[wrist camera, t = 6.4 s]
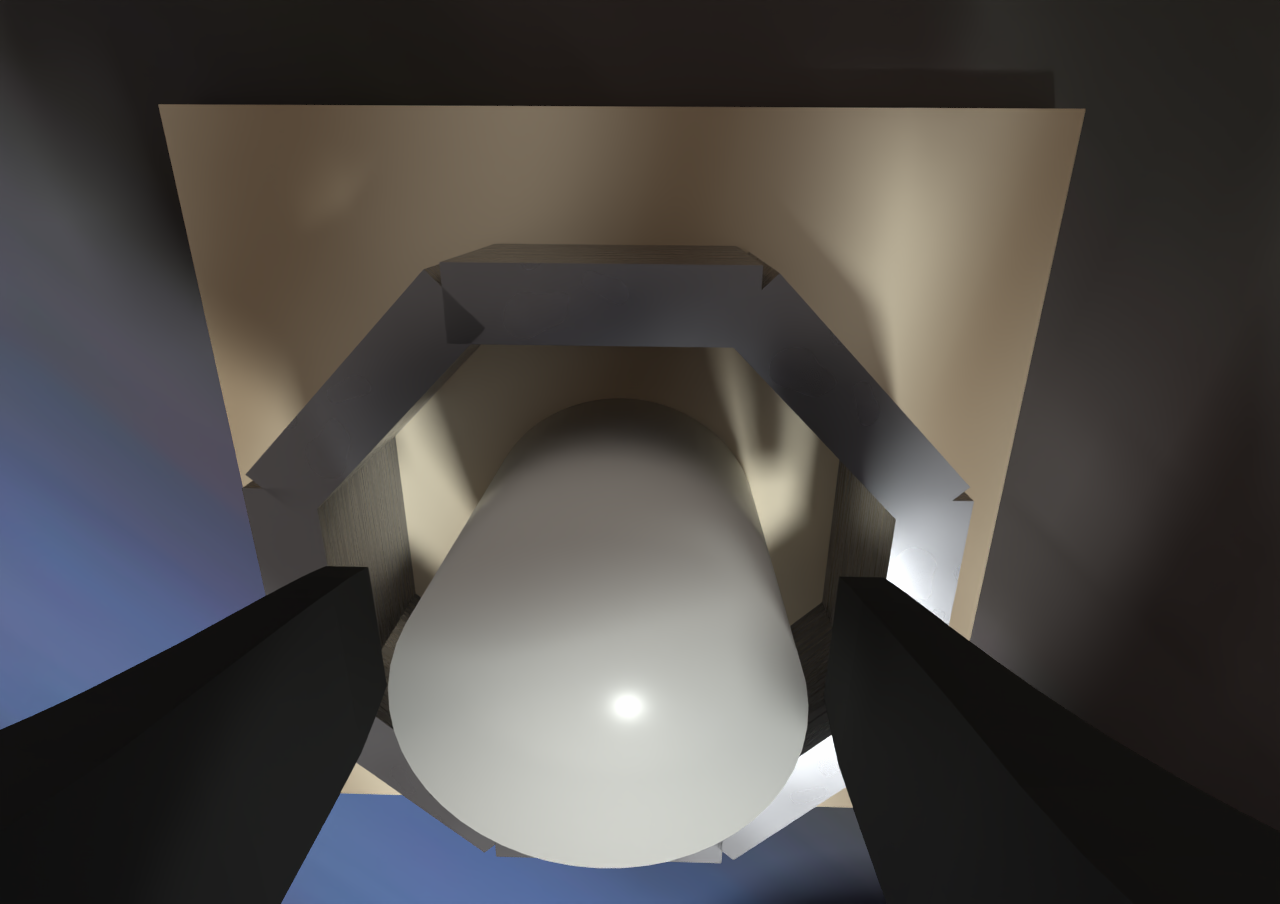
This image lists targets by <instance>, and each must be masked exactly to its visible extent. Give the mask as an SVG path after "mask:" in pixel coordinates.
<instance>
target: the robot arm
mask: <svg viewBox="0 0 1280 904" xmlns="http://www.w3.org/2000/svg"><path fill="white" fill-rule="evenodd" d="M386 687H387V682H386V676H385V669H384V663H383V657H382V650H381V644H380V638H379V631H378V625H377V619H376V612H375V606H374V599H373V593H372V587H371V580H370V574H369V568H368V567H348V566H325V567H322V568H320V569H318V570H315V571H313V572H311V573H309V574H307V575H305V576H302V577H300V578H299V579H297V580H295V581H293V582H291V583H289V584H287V585H285V586H283V587H281V588H279V589H277V590H276V591H274V592H272V593H270V594H268V595H266V596H265V597H263V598H261V599H259V600H257V601H255V602H254V603H252V604H250V605H248V606H246V607H245V608H243V609H241V610H239V611H237V612H235V613H234V614H232V615H230V616H228V617H226V618H225V619H223V620H221V621H219V622H217V623H215V624H214V625H212V626H210V627H208V628H206V629H204V630H203V631H201V632H199V633H197V634H195V635H193V636H192V637H190V638H188V639H186V640H184V641H182V642H181V643H179V644H177V645H175V646H173V647H171V648H169V649H167V650H165V651H163V652H161V653H159V654H157V655H155V656H153V657H151V658H149V659H147V660H145V661H144V662H142V663H140V664H138V665H136V666H134V667H132V668H130V669H128V670H126V671H124V672H122V673H120V674H118V675H116V676H114V677H112V678H110V679H108V680H106V681H104V682H102V683H100V684H98V685H97V686H95V687H93V688H91V689H89V690H87V691H85V692H82V693H80V694H78V695H76V696H74V697H72V698H70V699H68V700H66V701H64V702H61V703H59V704H57V705H55V706H53V707H51V708H48V709H46V710H44V711H42V712H40V713H38V714H35V715H33V716H31V717H29V718H26V719H24V720H22V721H20V722H17V723H15V724H13V725H10V726H8V727H6V728H3V729H1V730H0V904H281V902H282V900H283V899H284V897H285V895H286V893H287V891H288V889H289V887H290V886H291V884H292V882H293V880H294V878H295V876H296V875H297V873H298V871H299V869H300V867H301V865H302V863H303V862H304V860H305V858H306V856H307V854H308V852H309V850H310V849H311V847H312V845H313V843H314V841H315V839H316V838H317V836H318V834H319V832H320V830H321V828H322V826H323V825H324V823H325V821H326V819H327V817H328V815H329V814H330V812H331V810H332V808H333V806H334V804H335V802H336V800H337V799H338V797H339V795H340V793H341V791H342V789H343V787H344V785H345V783H346V782H347V780H348V778H349V776H350V774H351V772H352V770H353V768H354V766H355V764H356V762H357V760H358V759H359V757H360V755H361V753H362V750H363V748H364V745H365V743H366V740H367V738H368V735H369V733H370V730H371V728H372V725H373V723H374V720H375V717H376V714H377V712H378V709H379V706H380V703H381V701H382V698H383V695H384V692H385V690H386ZM824 700H825V705H826V710H827V715H828V720H829V725H830V730H831V735H832V739H833V743H834V748H835V752H836V756H837V761H838V765H839V768H840V771H841V774H842V777H843V780H844V783H845V786H846V789H847V792H848V795H849V798H850V800H851V803H852V806H853V809H854V812H855V815H856V818H857V821H858V824H859V826H860V829H861V832H862V835H863V838H864V841H865V844H866V846H867V849H868V852H869V855H870V858H871V861H872V863H873V866H874V869H875V872H876V875H877V878H878V880H879V883H880V886H881V889H882V892H883V895H884V897H885V900H886V903H887V904H1280V832H1279V831H1277V830H1275V829H1273V828H1271V827H1269V826H1267V825H1265V824H1263V823H1261V822H1259V821H1257V820H1255V819H1253V818H1251V817H1249V816H1247V815H1246V814H1244V813H1242V812H1240V811H1238V810H1236V809H1234V808H1232V807H1230V806H1229V805H1227V804H1225V803H1223V802H1221V801H1219V800H1217V799H1216V798H1214V797H1212V796H1210V795H1208V794H1206V793H1204V792H1203V791H1201V790H1199V789H1197V788H1195V787H1194V786H1192V785H1190V784H1188V783H1186V782H1185V781H1183V780H1181V779H1180V778H1178V777H1176V776H1174V775H1173V774H1171V773H1169V772H1168V771H1166V770H1164V769H1162V768H1161V767H1159V766H1157V765H1156V764H1154V763H1152V762H1150V761H1149V760H1147V759H1145V758H1144V757H1142V756H1140V755H1138V754H1137V753H1135V752H1133V751H1132V750H1130V749H1128V748H1126V747H1125V746H1123V745H1121V744H1120V743H1118V742H1116V741H1115V740H1113V739H1112V738H1110V737H1108V736H1107V735H1105V734H1104V733H1102V732H1100V731H1099V730H1097V729H1095V728H1094V727H1092V726H1091V725H1089V724H1088V723H1086V722H1085V721H1083V720H1082V719H1080V718H1079V717H1077V716H1076V715H1074V714H1073V713H1071V712H1070V711H1068V710H1067V709H1065V708H1064V707H1062V706H1061V705H1059V704H1058V703H1056V702H1055V701H1053V700H1052V699H1050V698H1049V697H1047V696H1046V695H1044V694H1043V693H1041V692H1040V691H1038V690H1037V689H1035V688H1034V687H1032V686H1031V685H1029V684H1028V683H1027V682H1025V681H1024V680H1022V679H1021V678H1019V677H1018V676H1017V675H1015V674H1014V673H1012V672H1011V671H1010V670H1008V669H1007V668H1005V667H1004V666H1003V665H1001V664H1000V663H998V662H997V661H996V660H994V659H993V658H992V657H990V656H989V655H988V654H986V653H985V652H983V651H982V650H981V649H979V648H978V647H977V646H975V645H974V644H973V643H971V642H970V641H969V640H967V639H966V638H965V637H963V636H962V635H961V634H959V633H958V632H957V631H955V630H954V629H953V628H952V627H950V626H949V625H948V624H946V623H945V622H944V621H942V620H941V619H940V618H938V617H937V616H936V615H935V614H933V613H932V612H931V611H929V610H928V609H927V608H925V607H924V606H923V605H921V604H920V603H919V602H918V601H916V600H915V599H914V598H912V597H911V596H910V595H908V594H907V593H906V592H904V591H903V590H901V589H900V588H899V587H897V586H896V585H894V584H893V583H891V582H890V581H888V580H887V579H885V578H884V577H839V581H838V589H837V597H836V604H835V612H834V620H833V627H832V635H831V643H830V650H829V658H828V666H827V674H826V681H825V689H824Z"/></svg>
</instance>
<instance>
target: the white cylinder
mask: <svg viewBox="0 0 1280 904" xmlns="http://www.w3.org/2000/svg"><path fill="white" fill-rule="evenodd" d="M388 697H389V711H390V715H391V720H392V724H393V729H394V732H395V735H396V738H397V740H398V743H399V745H400V748H401V751H402V753H403V754H404V756H405V758H406V760H407V762H408V763H409V765H410V767H411V769H412V771H413V772H414V773H415V775H416V776H417V777H418V779H419V780H420V781H421V783H422V784H423V785H424V787H425V788H426V789H427V790H428V792H429V793H430V794H431V795H432V796H433V797H434V798H435V799H436V800H437V801H438V802H439V803H440V804H441V805H442V806H443V807H444V808H445V809H447V810H448V811H449V812H450V813H451V814H453V815H454V816H455V817H456V818H457V819H459V820H460V821H461V822H463V823H464V824H466V825H467V826H469V827H470V828H472V829H473V830H475V831H476V832H478V833H479V834H481V835H483V836H485V837H487V838H489V839H491V840H493V841H495V842H497V843H499V844H500V845H503V846H505V847H508V848H510V849H513V850H515V851H518V852H520V853H523V854H526V855H529V856H532V857H536V858H539V859H543V860H546V861H550V862H556V863H561V864H566V865H571V866H581V867H591V868H627V867H638V866H647V865H652V864H657V863H663V862H668V861H672V860H675V859H678V858H682V857H685V856H688V855H692V854H694V853H697V852H699V851H701V850H704V849H706V848H709V847H711V846H713V845H715V844H717V843H719V842H721V841H723V840H724V839H726V838H728V837H730V836H731V835H733V834H735V833H736V832H738V831H739V830H740V829H742V828H743V827H745V826H746V825H747V824H749V823H750V822H751V821H753V820H754V819H755V818H756V817H757V816H758V815H759V814H760V813H761V812H762V811H763V810H764V809H766V808H767V807H768V806H769V805H770V803H771V802H772V801H773V800H774V799H775V797H776V796H777V795H778V794H779V792H780V791H781V790H782V789H783V787H784V786H785V784H786V782H787V780H788V779H789V777H790V775H791V774H792V772H793V770H794V769H795V766H796V764H797V761H798V759H799V756H800V754H801V751H802V748H803V744H804V740H805V735H806V731H807V723H808V696H807V687H806V681H805V677H804V673H803V670H802V666H801V663H800V659H799V656H798V652H797V649H796V645H795V642H794V638H793V635H792V631H791V628H790V624H789V621H788V617H787V614H786V610H785V607H784V603H783V600H782V596H781V593H780V589H779V586H778V582H777V579H776V575H775V572H774V568H773V565H772V562H771V558H770V555H769V551H768V548H767V544H766V541H765V537H764V534H763V530H762V527H761V523H760V520H759V516H758V513H757V509H756V506H755V502H754V499H753V495H752V492H751V488H750V485H749V482H748V480H747V478H746V475H745V473H744V471H743V469H742V467H741V465H740V464H739V462H738V461H737V459H736V457H735V456H734V454H733V453H732V452H731V451H730V449H729V448H728V447H727V446H726V445H725V444H724V442H723V441H722V440H721V439H720V438H719V437H717V436H716V435H715V434H714V433H713V432H712V431H711V430H710V429H708V428H707V427H706V426H704V425H703V424H701V423H700V422H698V421H697V420H695V419H694V418H692V417H690V416H688V415H686V414H684V413H682V412H680V411H678V410H676V409H673V408H670V407H667V406H665V405H662V404H658V403H654V402H649V401H645V400H638V399H627V398H614V399H601V400H594V401H588V402H584V403H581V404H577V405H574V406H571V407H568V408H566V409H563V410H561V411H559V412H557V413H554V414H552V415H551V416H549V417H548V418H546V419H544V420H543V421H541V422H539V423H538V424H537V425H535V426H534V427H533V428H532V429H531V430H529V431H528V432H527V433H526V434H525V435H524V436H523V437H522V438H521V439H520V440H519V441H518V442H517V443H516V444H515V446H514V447H513V448H512V450H511V451H510V452H509V454H508V455H507V457H506V458H505V460H504V461H503V463H502V465H501V466H500V468H499V470H498V471H497V473H496V475H495V476H494V478H493V480H492V481H491V483H490V485H489V486H488V488H487V490H486V491H485V493H484V495H483V496H482V498H481V500H480V501H479V503H478V504H477V506H476V508H475V509H474V511H473V513H472V514H471V516H470V518H469V519H468V521H467V523H466V524H465V526H464V528H463V529H462V531H461V533H460V534H459V536H458V538H457V539H456V541H455V543H454V544H453V546H452V548H451V549H450V551H449V552H448V554H447V556H446V557H445V559H444V561H443V562H442V564H441V566H440V567H439V569H438V571H437V572H436V574H435V576H434V577H433V579H432V581H431V582H430V584H429V586H428V587H427V589H426V591H425V592H424V594H423V596H422V597H421V599H420V600H419V602H418V604H417V605H416V607H415V609H414V610H413V612H412V614H411V615H410V617H409V619H408V620H407V622H406V624H405V626H404V628H403V630H402V633H401V635H400V637H399V639H398V641H397V643H396V647H395V650H394V654H393V657H392V661H391V664H390V673H389V682H388Z"/></svg>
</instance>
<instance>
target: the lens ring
mask: <svg viewBox="0 0 1280 904" xmlns="http://www.w3.org/2000/svg"><path fill="white" fill-rule="evenodd" d="M481 344H483V345H561V346H640V347H718V348H734V349H735V350H736V351H737V352H738V353H739V354H740V355H741V356H742V357H743V358H744V359H745V360H746V361H747V362H748V364H749V365H750V366H751V367H752V368H753V369H754V370H755V371H756V372H757V373H758V374H759V375H760V376H761V377H762V378H763V379H764V380H765V382H766V383H767V384H768V385H769V386H770V387H771V388H772V389H773V390H774V391H775V392H776V393H777V394H778V395H779V396H780V397H781V398H782V400H783V401H784V402H785V403H786V404H787V405H788V406H789V407H790V408H791V409H792V410H793V411H794V412H795V413H796V414H797V415H798V416H799V417H800V419H801V420H802V421H803V422H804V423H805V424H806V425H807V426H808V427H809V428H810V429H811V430H812V431H813V432H814V433H815V434H816V435H817V437H818V438H819V439H820V440H821V441H822V442H823V443H824V444H825V445H826V446H827V447H828V448H829V449H830V450H831V451H832V452H833V453H834V455H835V456H836V457H837V458H838V459H839V467H838V475H837V484H836V492H835V500H834V508H833V517H832V525H831V533H830V541H829V550H828V558H827V566H826V574H825V583H824V591H823V599H822V602H821V603H820V604H819V605H817V606H816V607H815V608H813V609H812V610H811V611H809V612H808V613H807V614H805V615H804V616H803V617H801V618H800V619H799V620H797V621H796V622H795V623H793V624H792V625H791V626H790V628H791V631H792V635H793V638H794V642H795V645H796V649H797V652H798V656H799V659H800V663H801V666H802V670H803V673H804V677H805V681H806V687H807V696H808V723H807V731H806V735H805V740H804V744H803V748H802V751H801V754H800V756H799V759H798V761H797V764H796V766H795V769H794V770H793V772H792V774H791V775H790V777H789V779H788V780H787V782H786V784H785V786H784V787H783V789H782V790H781V791H780V792H779V794H778V795H777V796H776V797H775V799H774V800H773V801H772V802H771V803H770V805H769V806H768V807H767V808H766V809H764V810H763V811H762V812H761V813H760V814H759V815H758V816H757V817H756V818H755V819H754V820H753V821H751V822H750V823H749V824H747V825H746V826H745V827H743V828H742V829H740V830H739V831H738V832H736V833H735V834H733V835H731V836H730V837H728V838H726V839H724V840H723V841H721V842H719V843H717V844H715V845H713V846H711V847H709V848H706V849H704V850H701V851H699V852H697V853H694V854H692V855H688V856H685V857H682V858H678V859H675V860H672V861H668V862H698V863H721V860H722V851H723V852H724V853H725V854H727V855H728V856H729V857H730V858H732V859H733V860H734V859H736V858H737V857H739V856H740V855H742V854H743V853H745V852H746V851H748V850H750V849H751V848H753V847H754V846H756V845H757V844H759V843H760V842H762V841H763V840H765V839H767V838H768V837H770V836H771V835H773V834H774V833H776V832H777V831H779V830H780V829H782V828H783V827H785V826H787V825H788V824H790V823H791V822H793V821H794V820H796V819H797V818H799V817H800V816H802V815H804V814H805V813H807V812H808V811H810V810H811V809H813V808H814V807H816V806H817V805H819V804H821V803H822V802H824V801H825V800H827V799H828V798H830V797H831V796H833V795H834V794H836V793H837V792H839V791H841V790H842V789H844V788H845V787H846V786H845V783H844V780H843V777H842V774H841V771H840V768H839V765H838V761H837V756H836V752H835V748H834V743H833V739H832V735H831V730H830V725H829V720H828V715H827V710H826V705H825V700H824V689H825V681H826V674H827V666H828V658H829V650H830V643H831V635H832V627H833V620H834V612H835V604H836V597H837V589H838V581H839V577H884V578H885V579H887V580H888V581H890V582H891V583H893V584H894V585H896V586H897V587H899V588H900V589H901V590H903V591H904V592H906V593H907V594H908V595H910V596H911V597H912V598H914V599H915V600H916V601H918V602H919V603H920V604H921V605H923V606H924V607H925V608H927V609H928V610H929V611H931V612H932V613H933V614H935V615H936V616H937V617H938V618H940V619H941V620H942V621H944V622H945V623H946V624H948V625H949V622H950V617H951V612H952V607H953V602H954V598H955V593H956V588H957V583H958V578H959V573H960V568H961V563H962V558H963V553H964V548H965V543H966V538H967V533H968V529H969V524H970V519H971V514H972V509H973V504H974V501H973V500H972V499H971V498H970V497H969V496H968V495H967V494H966V493H965V491H966V490H967V489H969V488H970V486H969V485H968V484H967V483H966V482H965V481H964V480H963V479H962V477H961V476H960V475H959V474H958V473H957V472H956V471H955V470H954V468H953V467H952V466H951V465H950V464H949V463H948V462H947V461H946V459H945V458H944V457H943V456H942V455H941V454H940V453H939V452H938V450H937V449H936V448H935V447H934V446H933V445H932V444H931V443H930V441H929V440H928V439H927V438H926V437H925V436H924V435H923V434H922V432H921V431H920V430H919V429H918V428H917V427H916V426H915V425H914V423H913V422H912V421H911V420H910V419H909V418H908V417H907V416H906V414H905V413H904V412H903V411H902V410H901V409H900V408H899V407H898V405H897V404H896V403H895V402H894V401H893V400H892V399H891V398H890V396H889V395H888V394H887V393H886V392H885V391H884V390H883V389H882V387H881V386H880V385H879V384H878V383H877V382H876V381H875V380H874V378H873V377H872V376H871V375H870V374H869V373H868V372H867V371H866V369H865V368H864V367H863V366H862V365H861V364H860V363H859V362H858V360H857V359H856V358H855V357H854V356H853V355H852V354H851V353H850V352H849V350H848V349H847V348H846V347H845V346H844V345H843V344H842V343H841V341H840V340H839V339H838V338H837V337H836V336H835V335H834V334H833V332H832V331H831V330H830V329H829V328H828V327H827V326H826V325H825V323H824V322H823V321H822V320H821V319H820V318H819V317H818V316H817V314H816V313H815V312H814V311H813V310H812V309H811V308H810V307H809V305H808V304H807V303H806V302H805V301H804V300H803V299H802V298H801V296H800V295H799V294H798V293H797V292H796V291H795V290H794V289H793V287H792V286H791V285H790V284H789V283H788V282H787V281H786V280H785V278H784V277H783V276H782V275H781V274H780V273H779V272H777V271H776V270H775V269H773V268H772V267H770V266H769V265H767V264H766V263H765V262H763V261H762V260H760V259H759V258H757V257H756V256H755V255H753V254H752V253H750V252H748V253H746V252H744V251H743V250H742V249H740V248H739V247H737V246H691V245H585V244H493V245H490V246H487V247H484V248H481V249H478V250H475V251H472V252H469V253H466V254H463V255H459V256H456V257H453V258H450V259H447V260H444V261H441V262H439V264H438V265H435V266H432V267H429V268H426V269H423V270H422V272H421V273H420V274H419V275H418V276H417V277H416V278H415V280H414V281H413V282H412V283H411V284H410V285H409V287H408V288H407V289H406V290H405V291H404V292H403V293H402V295H401V296H400V297H399V298H398V299H397V300H396V301H395V303H394V304H393V305H392V306H391V307H390V308H389V310H388V311H387V312H386V313H385V314H384V315H383V316H382V318H381V319H380V320H379V321H378V322H377V323H376V325H375V326H374V327H373V328H372V329H371V330H370V331H369V333H368V334H367V335H366V336H365V337H364V338H363V340H362V341H361V342H360V343H359V344H358V345H357V346H356V348H355V349H354V350H353V351H352V352H351V353H350V355H349V356H348V357H347V358H346V359H345V360H344V361H343V363H342V364H341V365H340V366H339V367H338V368H337V369H336V371H335V372H334V373H333V374H332V375H331V376H330V378H329V379H328V380H327V381H326V382H325V383H324V384H323V386H322V387H321V388H320V389H319V390H318V391H317V393H316V394H315V395H314V396H313V397H312V398H311V399H310V401H309V402H308V403H307V404H306V405H305V406H304V408H303V409H302V410H301V411H300V412H299V413H298V414H297V416H296V417H295V418H294V419H293V420H292V421H291V422H290V424H289V425H288V426H287V427H286V428H285V429H284V431H283V432H282V433H281V434H280V435H279V436H278V437H277V439H276V440H275V441H274V442H273V443H272V444H271V446H270V447H269V448H268V449H267V450H266V451H265V452H264V454H263V455H262V456H261V457H260V458H259V459H258V461H257V462H256V463H255V464H254V465H253V466H252V467H251V469H250V470H249V471H248V472H247V473H246V474H245V475H246V476H248V477H249V478H250V479H251V480H253V481H251V482H250V483H249V484H247V485H246V486H244V487H243V488H242V491H243V495H244V500H245V504H246V509H247V513H248V517H249V522H250V526H251V531H252V535H253V540H254V544H255V549H256V553H257V558H258V562H259V567H260V571H261V576H262V580H263V585H264V589H265V594H266V595H268V594H270V593H272V592H274V591H276V590H277V589H279V588H281V587H283V586H285V585H287V584H289V583H291V582H293V581H295V580H297V579H299V578H300V577H302V576H305V575H307V574H309V573H311V572H313V571H315V570H318V569H320V568H322V567H325V566H348V567H368V568H369V574H370V580H371V587H372V593H373V599H374V606H375V612H376V619H377V625H378V631H379V638H380V644H381V650H382V657H383V663H384V669H385V676H386V682H387V687H386V690H385V692H384V695H383V698H382V701H381V703H380V706H379V709H378V712H377V714H376V717H375V720H374V723H373V725H372V728H371V730H370V733H369V735H368V738H367V740H366V743H365V745H364V748H363V750H362V753H361V755H360V757H359V759H358V760H357V762H356V763H358V764H359V765H360V766H362V767H363V768H365V769H366V770H367V771H369V772H370V773H372V774H373V775H375V776H376V777H377V778H379V779H380V780H382V781H383V782H385V783H386V784H387V785H389V786H390V787H392V788H393V789H395V790H396V791H397V792H399V793H400V794H402V795H403V796H405V797H406V798H407V799H409V800H410V801H412V802H413V803H415V804H416V805H417V806H419V807H420V808H422V809H423V810H425V811H426V812H427V813H429V814H430V815H432V816H433V817H435V818H436V819H437V820H439V821H440V822H442V823H443V824H444V825H446V826H447V827H449V828H450V829H452V830H453V831H454V832H456V833H457V834H459V835H460V836H462V837H463V838H464V839H466V840H467V841H469V842H470V843H472V844H473V845H474V846H476V847H477V848H479V849H480V850H482V851H483V852H486V851H487V850H488V849H490V848H491V847H492V846H494V845H495V846H496V856H498V857H531V858H536V857H532V856H529V855H526V854H523V853H520V852H518V851H515V850H513V849H510V848H508V847H505V846H503V845H500V844H499V843H497V842H495V841H493V840H491V839H489V838H487V837H485V836H483V835H481V834H479V833H478V832H476V831H475V830H473V829H472V828H470V827H469V826H467V825H466V824H464V823H463V822H461V821H460V820H459V819H457V818H456V817H455V816H454V815H453V814H451V813H450V812H449V811H448V810H447V809H445V808H444V807H443V806H442V805H441V804H440V803H439V802H438V801H437V800H436V799H435V798H434V797H433V796H432V795H431V794H430V793H429V792H428V790H427V789H426V788H425V787H424V785H423V784H422V783H421V781H420V780H419V779H418V777H417V776H416V775H415V773H414V772H413V771H412V769H411V767H410V765H409V763H408V762H407V760H406V758H405V756H404V754H403V753H402V751H401V748H400V745H399V743H398V740H397V738H396V735H395V732H394V729H393V724H392V720H391V715H390V711H389V697H388V682H389V673H390V664H391V661H392V657H393V654H394V650H395V647H396V643H397V641H398V639H399V637H400V635H401V633H402V630H403V628H404V626H405V624H406V622H407V620H408V619H409V617H410V615H411V614H412V612H413V610H414V609H415V607H416V605H417V604H418V602H419V600H420V599H421V597H420V596H419V595H417V594H416V592H415V584H414V576H413V569H412V561H411V553H410V546H409V538H408V530H407V523H406V515H405V507H404V500H403V492H402V484H401V477H400V469H399V461H398V454H397V446H396V438H395V436H396V435H397V434H398V433H399V432H400V430H401V429H402V428H403V427H404V426H405V425H406V424H407V423H408V422H409V421H410V420H411V419H412V418H413V417H414V416H415V414H416V413H417V412H418V411H419V410H420V409H421V408H422V407H423V406H424V405H425V404H426V403H427V402H428V401H429V400H430V399H431V397H432V396H433V395H434V394H435V393H436V392H437V391H438V390H439V389H440V388H441V387H442V386H443V385H444V384H445V383H446V381H447V380H448V379H449V378H450V377H451V376H452V375H453V374H454V373H455V372H456V371H457V370H458V369H459V368H460V367H461V365H462V364H463V363H464V362H465V361H466V360H467V359H468V358H469V357H470V356H471V355H472V354H473V353H474V352H475V351H476V350H477V348H478V347H479V346H480V345H481Z"/></svg>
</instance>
